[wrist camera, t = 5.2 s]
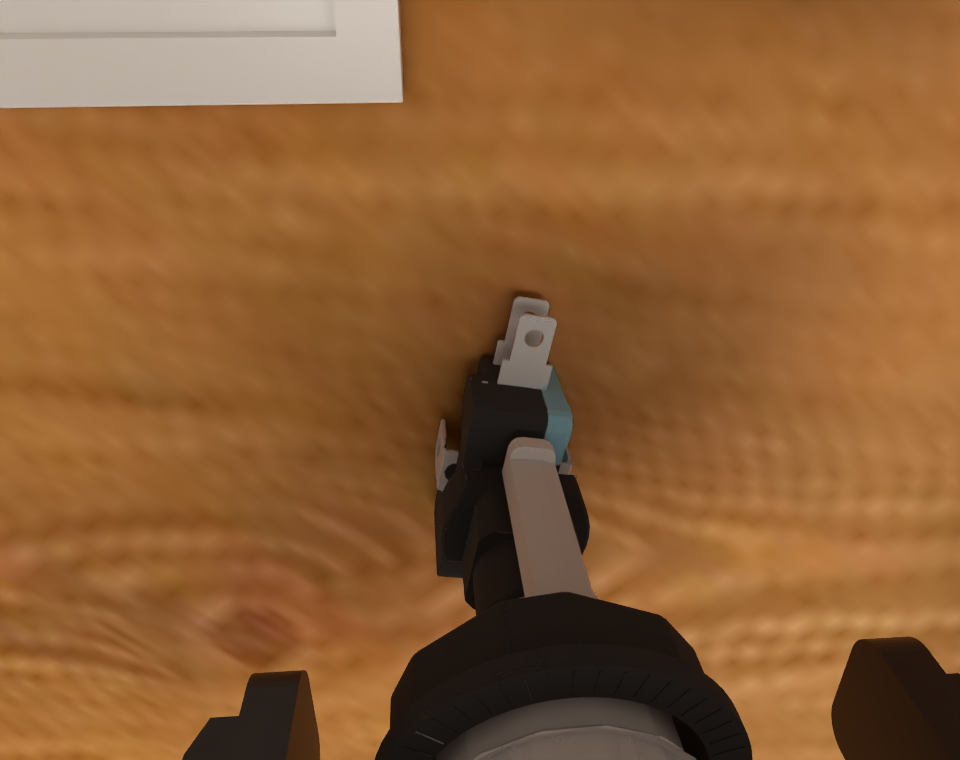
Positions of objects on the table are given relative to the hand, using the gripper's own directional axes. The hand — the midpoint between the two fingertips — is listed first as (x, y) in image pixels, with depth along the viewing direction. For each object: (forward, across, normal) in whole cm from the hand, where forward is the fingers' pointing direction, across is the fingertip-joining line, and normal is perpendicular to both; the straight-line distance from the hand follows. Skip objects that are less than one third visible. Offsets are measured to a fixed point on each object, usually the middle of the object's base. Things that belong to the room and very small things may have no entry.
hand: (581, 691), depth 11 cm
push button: (+8, 0, 0) cm, 8 cm away
